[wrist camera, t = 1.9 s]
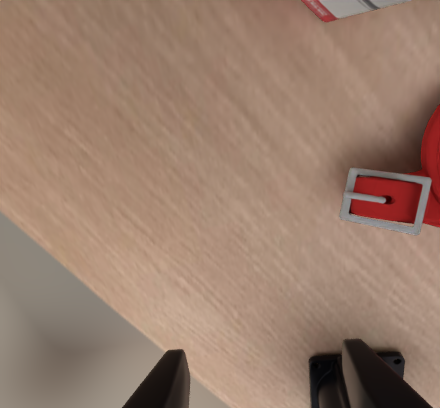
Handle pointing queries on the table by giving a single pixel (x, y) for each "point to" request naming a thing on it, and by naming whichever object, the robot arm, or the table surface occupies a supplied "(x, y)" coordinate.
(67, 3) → the table surface
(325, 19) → the ink box
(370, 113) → the table surface
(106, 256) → the table surface
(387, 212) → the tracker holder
